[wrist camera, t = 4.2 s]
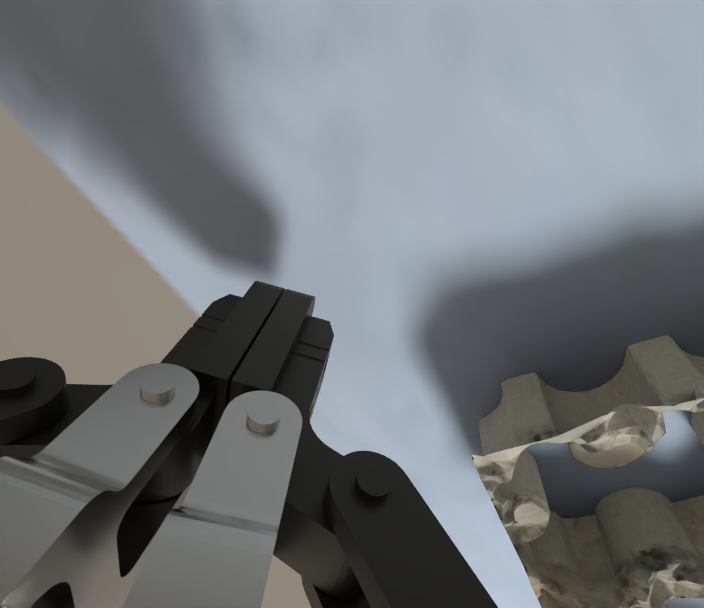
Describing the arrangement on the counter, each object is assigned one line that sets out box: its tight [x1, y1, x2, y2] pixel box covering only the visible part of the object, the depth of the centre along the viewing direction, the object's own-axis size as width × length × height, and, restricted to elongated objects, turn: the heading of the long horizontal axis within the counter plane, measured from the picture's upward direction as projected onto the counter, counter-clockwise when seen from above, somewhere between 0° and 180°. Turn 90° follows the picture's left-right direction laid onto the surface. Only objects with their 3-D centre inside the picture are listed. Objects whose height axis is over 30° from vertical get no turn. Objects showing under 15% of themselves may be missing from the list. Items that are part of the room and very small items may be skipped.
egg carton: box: [472, 335, 704, 608], centre depth 11 cm, size 11×8×4 cm
